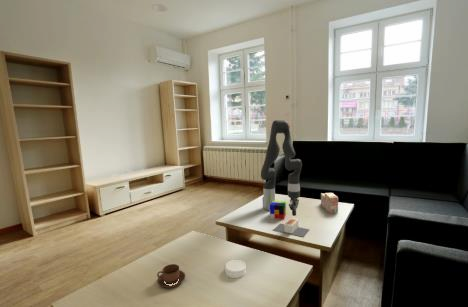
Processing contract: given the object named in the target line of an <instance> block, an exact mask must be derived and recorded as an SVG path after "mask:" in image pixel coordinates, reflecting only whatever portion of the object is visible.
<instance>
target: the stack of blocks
mask: <svg viewBox="0 0 468 307" xmlns="http://www.w3.org/2000/svg"><path fill="white" fill-rule="evenodd" d="M320 205H321V206H322V207H323V208H324V209H325V210H326V211H327V212H328V213H329V214H338V213H339V197H338V195H336V194H334V192H325V193H322V192H321V193H320Z"/></svg>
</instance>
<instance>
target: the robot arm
mask: <svg viewBox="0 0 468 307" xmlns="http://www.w3.org/2000/svg"><path fill="white" fill-rule="evenodd" d="M290 131H291V130H290V125H289V123H288V121H287V120H281V119H280V120H279V119H278V120H277V119H276V120H273V121H272V123H271V127H270V133H269V140H268V145H267V149H266V154H265V158H264V161H263V165H262V168H261V171H260V179H261V180H263V181H266V182H265V183H264V184H263V185H262V187H263V189H262V190H263V191H262V192H263V194H262V195H263V196H262V209H263V210H265V211H270V204H271V203H272V201H276V170H275V168H274V167H271V166H272V165H273V163H274V162H275V161H276V160H277V159H278V157H279V154H280V145H279V143H278V140H277V135H278V134H283V135H284V140H283V142H282V146H281V147H282V148H281V149H282V152H283V155H284V167H285V169H286V171H293V172H291V173H289V174H288V176H287V181H288V182H287V197H288V198H289V199H290V200H289V202H290V203H289V204H288V207H289V209H290V211H291V215H292V216H294V217H296V216H297V209H298V207H299V201H300V199H299V198H300V196H301V186H300V175H301V171H302V167H303V163H302V160H301V159H299V158H295V156H296V151H295V148H294V145H293V143H292V142H293V141H292V137H291V132H290Z"/></svg>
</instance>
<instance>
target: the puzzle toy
mask: <svg viewBox="0 0 468 307" xmlns="http://www.w3.org/2000/svg"><path fill="white" fill-rule="evenodd" d="M286 216H287V201H282V200H281V201H280V200H279V201H278V200H275V201H272V203H271V204H270V210H269V219H278V220H285V218H286Z"/></svg>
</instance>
